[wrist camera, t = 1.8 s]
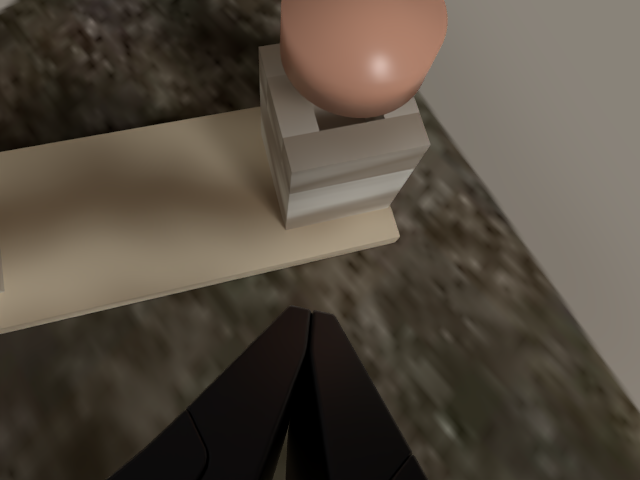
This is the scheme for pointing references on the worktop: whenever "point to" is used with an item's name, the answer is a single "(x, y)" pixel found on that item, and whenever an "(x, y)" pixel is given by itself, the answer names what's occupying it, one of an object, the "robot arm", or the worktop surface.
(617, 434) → the worktop surface
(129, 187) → the stand
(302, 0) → the terracotta key
